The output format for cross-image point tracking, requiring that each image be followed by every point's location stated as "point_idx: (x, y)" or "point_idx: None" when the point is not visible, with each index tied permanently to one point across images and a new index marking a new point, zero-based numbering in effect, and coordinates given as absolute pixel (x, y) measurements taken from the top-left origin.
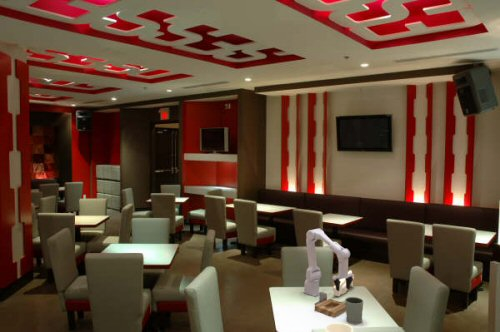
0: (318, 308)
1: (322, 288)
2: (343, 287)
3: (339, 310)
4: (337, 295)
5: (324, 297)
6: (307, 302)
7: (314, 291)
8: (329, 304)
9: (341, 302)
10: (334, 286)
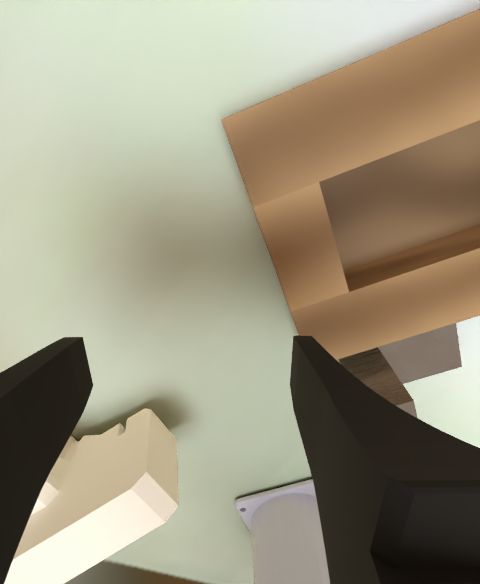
0: None
1: (172, 552)
2: (46, 489)
3: (465, 16)
4: (156, 418)
5: (396, 377)
6: (457, 414)
7: (317, 521)
8: (394, 268)
9: (263, 230)
10: (160, 517)
